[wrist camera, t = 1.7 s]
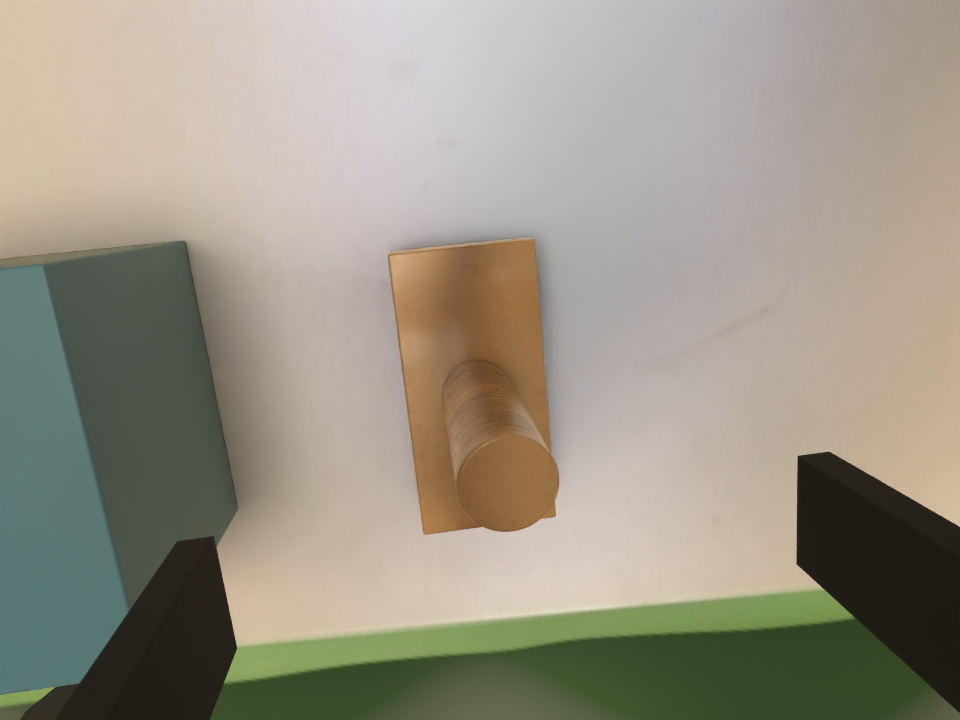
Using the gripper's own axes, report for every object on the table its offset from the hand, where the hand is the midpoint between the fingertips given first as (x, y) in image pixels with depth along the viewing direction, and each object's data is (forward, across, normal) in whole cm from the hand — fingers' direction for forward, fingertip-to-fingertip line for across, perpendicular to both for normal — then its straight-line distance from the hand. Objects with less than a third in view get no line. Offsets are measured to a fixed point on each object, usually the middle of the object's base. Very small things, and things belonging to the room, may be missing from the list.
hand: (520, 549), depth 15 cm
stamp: (+16, 0, 0) cm, 16 cm away
